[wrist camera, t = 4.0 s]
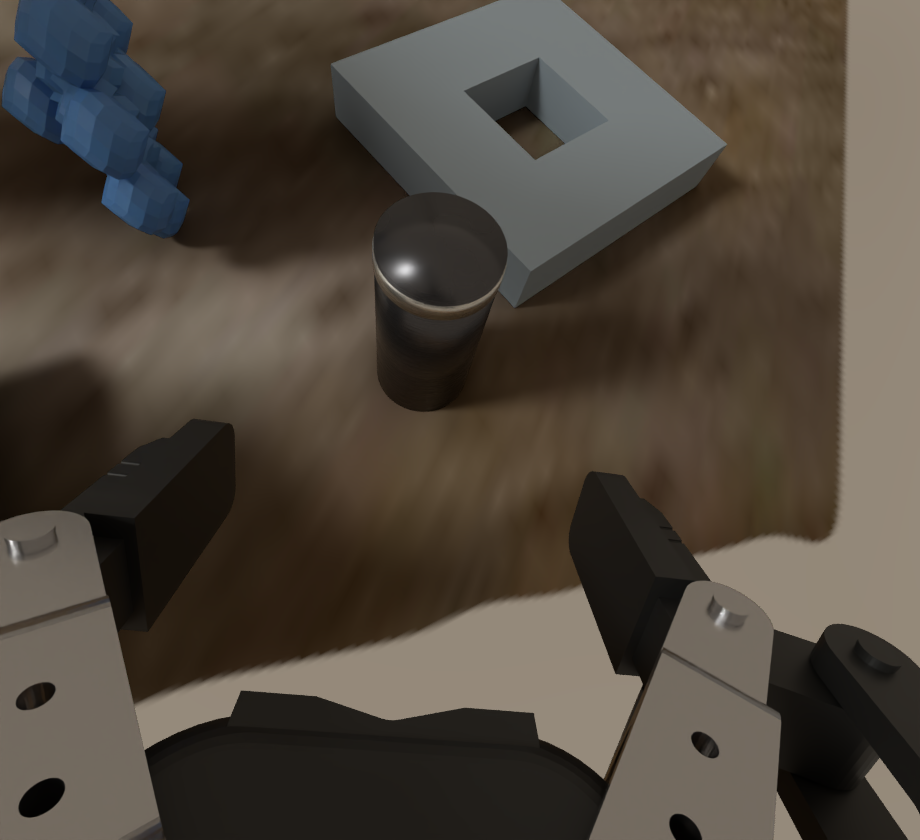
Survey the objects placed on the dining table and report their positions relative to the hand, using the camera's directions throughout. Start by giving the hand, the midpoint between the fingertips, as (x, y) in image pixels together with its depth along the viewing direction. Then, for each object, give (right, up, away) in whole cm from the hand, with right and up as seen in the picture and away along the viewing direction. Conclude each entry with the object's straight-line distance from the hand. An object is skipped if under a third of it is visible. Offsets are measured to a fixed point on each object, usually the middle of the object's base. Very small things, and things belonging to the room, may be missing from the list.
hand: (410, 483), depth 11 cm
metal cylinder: (-1, +4, +15) cm, 16 cm away
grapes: (-17, +14, +17) cm, 28 cm away
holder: (+5, +20, +22) cm, 30 cm away
